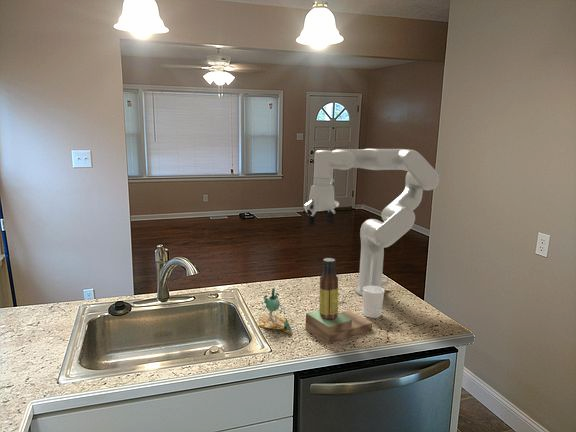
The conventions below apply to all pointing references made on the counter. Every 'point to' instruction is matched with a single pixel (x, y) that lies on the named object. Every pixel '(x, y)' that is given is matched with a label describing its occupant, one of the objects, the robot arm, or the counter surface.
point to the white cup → (372, 301)
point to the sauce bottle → (329, 290)
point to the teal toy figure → (274, 321)
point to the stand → (336, 325)
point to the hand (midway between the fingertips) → (321, 224)
